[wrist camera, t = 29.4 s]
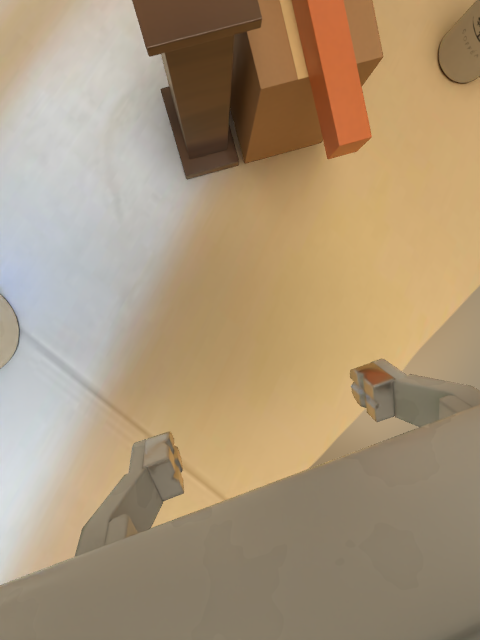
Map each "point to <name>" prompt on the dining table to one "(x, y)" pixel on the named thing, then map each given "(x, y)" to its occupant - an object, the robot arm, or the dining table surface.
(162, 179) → the dining table surface
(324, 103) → the bar
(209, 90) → the stand
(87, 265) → the dining table surface
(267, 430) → the dining table surface
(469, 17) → the travel mug
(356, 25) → the carton
